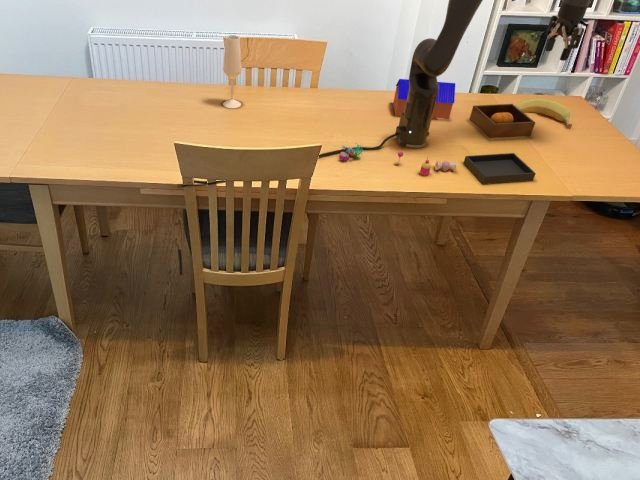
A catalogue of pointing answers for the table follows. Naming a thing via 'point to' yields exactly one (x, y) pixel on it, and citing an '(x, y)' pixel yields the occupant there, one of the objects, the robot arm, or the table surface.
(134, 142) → the table surface
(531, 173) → the tray
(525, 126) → the brown wooden box
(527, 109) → the banana
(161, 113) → the table surface
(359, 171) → the table surface
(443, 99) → the house
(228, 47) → the champagne flute
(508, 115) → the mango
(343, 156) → the anatomy model
